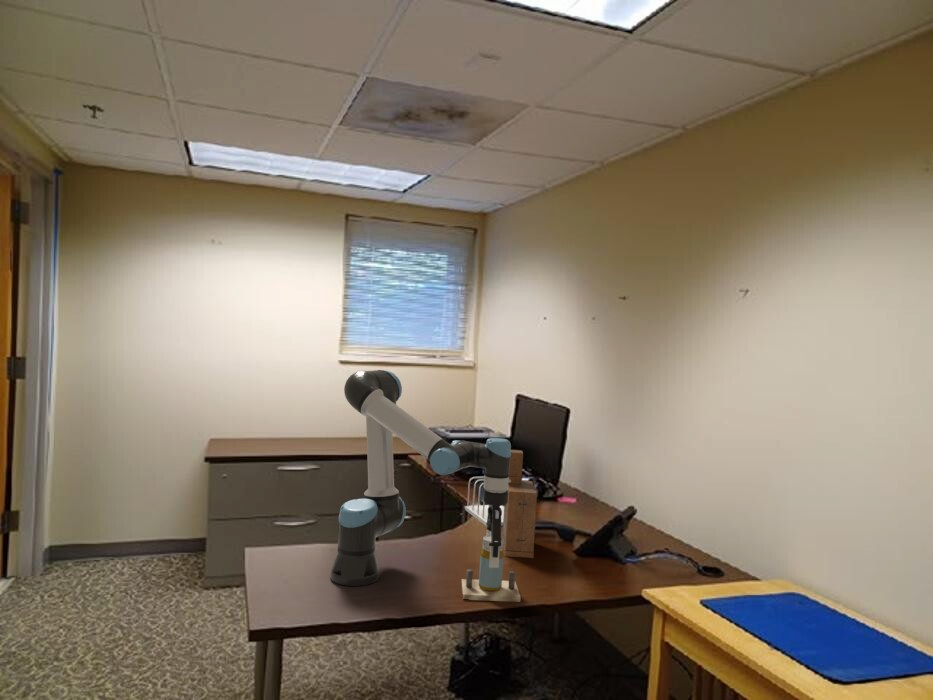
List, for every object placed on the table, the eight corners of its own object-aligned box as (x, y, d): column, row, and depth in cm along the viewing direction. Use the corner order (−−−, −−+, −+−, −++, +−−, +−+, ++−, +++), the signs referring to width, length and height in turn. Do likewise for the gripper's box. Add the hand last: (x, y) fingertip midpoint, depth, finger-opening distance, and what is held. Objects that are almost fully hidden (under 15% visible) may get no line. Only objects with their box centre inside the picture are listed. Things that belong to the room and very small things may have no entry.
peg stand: (463, 599, 187) (464, 577, 187) (461, 583, 199) (462, 563, 199) (520, 601, 188) (521, 580, 188) (515, 585, 200) (516, 565, 200)
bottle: (500, 583, 197) (503, 535, 197) (502, 592, 190) (505, 543, 190) (477, 582, 197) (481, 534, 196) (479, 591, 190) (482, 541, 190)
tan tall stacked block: (491, 538, 246) (497, 448, 245) (528, 540, 246) (533, 450, 245) (493, 555, 227) (499, 458, 226) (533, 557, 227) (539, 460, 226)
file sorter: (464, 510, 284) (466, 475, 284) (500, 508, 290) (502, 474, 290) (487, 527, 261) (489, 489, 260) (524, 524, 267) (527, 488, 267)
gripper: (513, 501, 181) (508, 575, 181) (503, 481, 205) (500, 546, 206) (487, 500, 180) (482, 574, 181) (480, 480, 205) (476, 545, 206)
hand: (491, 559), depth 193 cm, fingers open, 13 cm apart
